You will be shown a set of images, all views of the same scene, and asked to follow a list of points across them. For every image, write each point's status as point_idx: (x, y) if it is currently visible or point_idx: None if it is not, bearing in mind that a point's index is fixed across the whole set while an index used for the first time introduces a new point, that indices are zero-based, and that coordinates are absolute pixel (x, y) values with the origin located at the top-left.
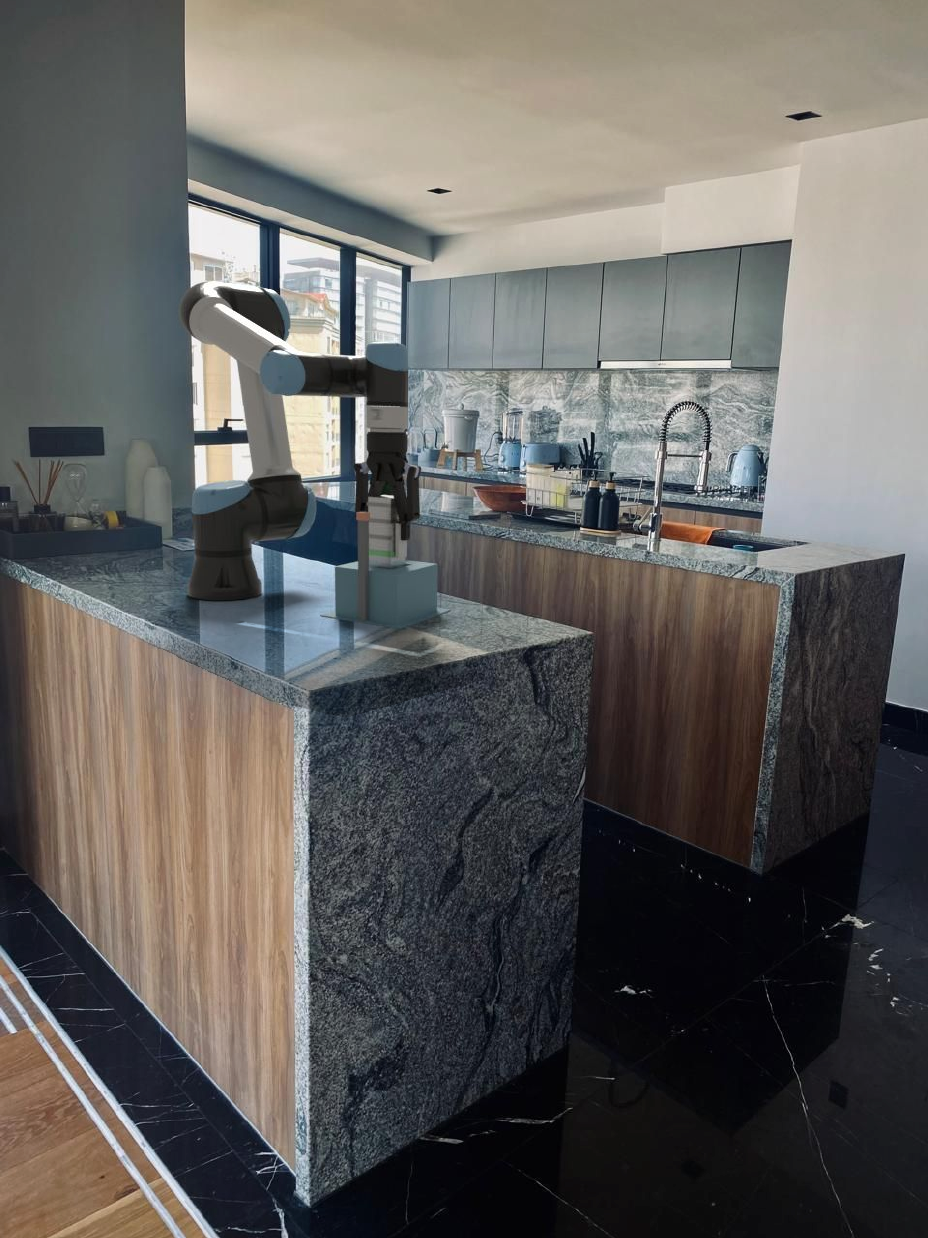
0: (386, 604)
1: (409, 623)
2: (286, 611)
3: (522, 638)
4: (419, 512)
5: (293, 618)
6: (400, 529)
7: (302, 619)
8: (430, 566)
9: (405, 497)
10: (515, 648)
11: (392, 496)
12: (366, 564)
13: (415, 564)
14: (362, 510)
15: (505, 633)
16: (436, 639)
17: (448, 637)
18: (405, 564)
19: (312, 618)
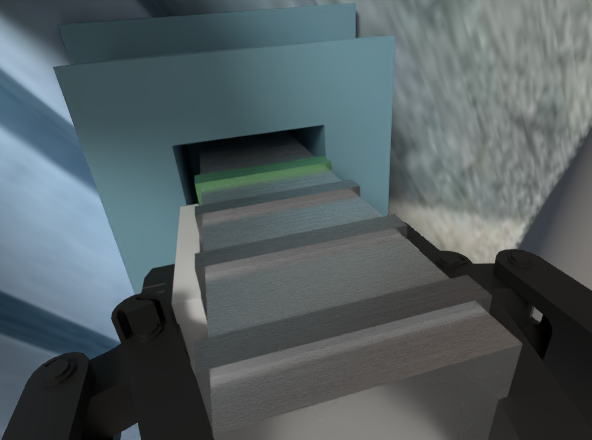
0: None
1: None
2: (5, 287)
3: (559, 110)
4: (560, 275)
5: (93, 311)
6: None
7: (117, 302)
8: (391, 96)
9: (551, 394)
10: (557, 177)
11: (406, 434)
12: None
13: (333, 116)
14: (110, 430)
15: (524, 98)
16: (429, 223)
17: (441, 199)
18: (290, 128)
19: (124, 283)
